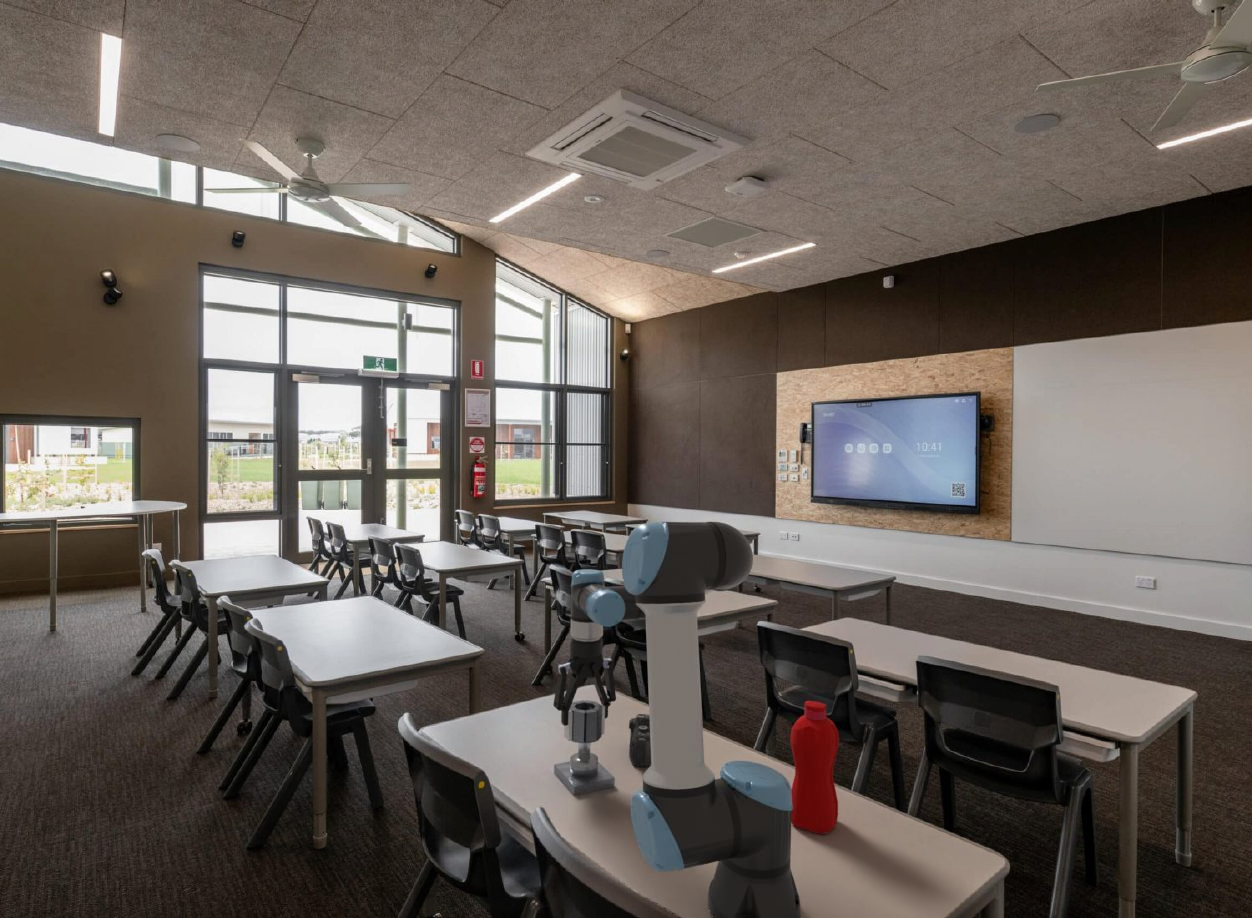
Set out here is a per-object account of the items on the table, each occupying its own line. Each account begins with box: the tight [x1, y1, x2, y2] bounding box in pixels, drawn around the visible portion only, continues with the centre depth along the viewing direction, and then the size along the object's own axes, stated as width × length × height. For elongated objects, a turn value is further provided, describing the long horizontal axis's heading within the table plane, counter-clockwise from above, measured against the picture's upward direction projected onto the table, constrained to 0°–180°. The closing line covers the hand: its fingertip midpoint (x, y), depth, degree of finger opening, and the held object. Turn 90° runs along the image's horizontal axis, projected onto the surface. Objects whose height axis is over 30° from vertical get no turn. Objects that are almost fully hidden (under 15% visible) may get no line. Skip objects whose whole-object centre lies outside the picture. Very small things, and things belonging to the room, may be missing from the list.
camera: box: [628, 712, 651, 768], centre depth 172 cm, size 13×10×10 cm
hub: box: [570, 699, 602, 744], centre depth 159 cm, size 8×8×7 cm
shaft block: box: [553, 743, 616, 797], centre depth 159 cm, size 12×10×15 cm
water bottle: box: [789, 700, 840, 835], centre depth 143 cm, size 9×11×25 cm
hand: (584, 735), depth 159 cm, fingers closed on hub, 7 cm apart
